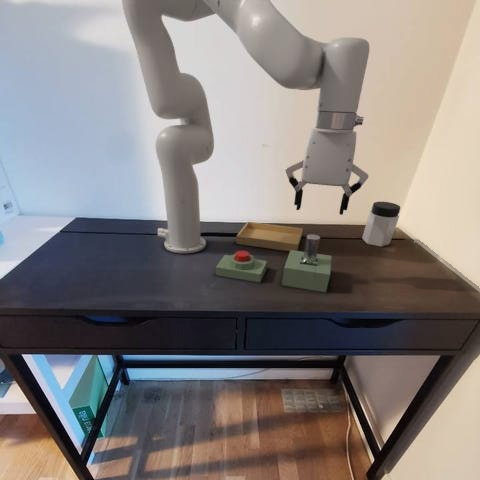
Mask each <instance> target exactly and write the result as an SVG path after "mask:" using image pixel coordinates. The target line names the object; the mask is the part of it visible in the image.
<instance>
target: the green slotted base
mask: <svg viewBox="0 0 480 480" xmlns="http://www.w3.org/2000/svg"><path fill="white" fill-rule="evenodd" d="M301 255H304V251H300V250H297V251H294V250H290V251H289V253H288V256H287V259H286V261H285V264H284V267H283V272H282V281H281V286H284V287H290V288H295V289H296V288H297V289H302V290H309V291H315V292H319V293H320V292H321V293H327V290H328V287H329V281H330V277H331V271H332V270H331V269H332V258H333V256H332V255H327V254H322V253H317V257H318V259H316V262H317V263H318V264H315V266H313V265H306V264H302V262H300V260H303V257H301Z"/></svg>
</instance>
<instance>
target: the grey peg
mask: <svg viewBox="0 0 480 480" xmlns="http://www.w3.org/2000/svg"><path fill="white" fill-rule="evenodd" d="M320 240H321V237H320V236H319V235H317V234H313V233H312V234H307V235H306V239H305V244H304V249H303V250H304V251H303V252H304V255H301V257H303V260H300V262H302V264H306V265H313V266H315V264H318V263H317V262H316V259H318V257H317V254H318V252H319V246H320Z"/></svg>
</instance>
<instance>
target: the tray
mask: <svg viewBox="0 0 480 480" xmlns="http://www.w3.org/2000/svg"><path fill="white" fill-rule="evenodd" d="M303 231H304V229H303V228H300V227H294V226H285V225H277V224H271V223H264V222H263V223H262V222H254V221H247V222H246V223H245V224H244V226H243V227H242V228H241V230H240V231H239V232H238V234H236V243H235V244H237V245H241V246H242V245H243V246H248V247H249V246H250V247H257V248H263V249H264V248H265V249H270V250H278V251H284V252H290V250H294V251H298V249H299V246H300V243H301V239H302V236H303Z"/></svg>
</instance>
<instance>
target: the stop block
mask: <svg viewBox="0 0 480 480" xmlns="http://www.w3.org/2000/svg"><path fill="white" fill-rule="evenodd" d="M235 254H236V253H234V254H233V253H232V254H231V255H229V254H224V255H223V257H222V258H221V259H220V260H219V262H218V263H217V265H216V266H215V276H219V277H224V278H231V279H236V280H243V281H249V282H254V283H261V282H262V280H263V277H264V275H265V273H266V271H267V266H268V260H263V259H256V258H255V256H254V255H251V254H250V253H249V261H247V262H238V261H236V260H235Z"/></svg>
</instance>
